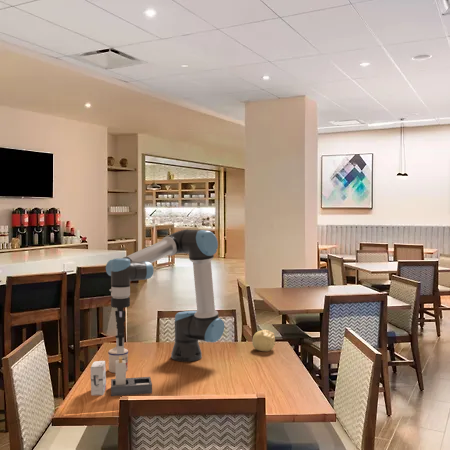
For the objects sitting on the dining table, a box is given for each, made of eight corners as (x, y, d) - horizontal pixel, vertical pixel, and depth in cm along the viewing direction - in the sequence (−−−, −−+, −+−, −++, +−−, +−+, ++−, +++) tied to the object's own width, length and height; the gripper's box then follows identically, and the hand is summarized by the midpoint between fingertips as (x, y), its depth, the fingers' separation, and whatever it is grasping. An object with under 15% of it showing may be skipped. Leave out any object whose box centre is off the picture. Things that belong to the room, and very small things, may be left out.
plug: (125, 389, 216) (125, 356, 215) (125, 392, 212) (125, 358, 211) (115, 389, 215) (115, 356, 214) (115, 393, 211) (115, 359, 211)
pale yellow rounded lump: (272, 353, 271) (273, 333, 271) (250, 351, 275) (250, 331, 274) (276, 348, 282) (277, 328, 282) (255, 346, 286) (255, 326, 285)
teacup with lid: (123, 374, 237) (123, 348, 236) (104, 372, 239) (104, 347, 239) (134, 366, 248) (134, 341, 248) (116, 364, 251) (116, 340, 250)
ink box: (93, 389, 217) (93, 360, 217) (106, 389, 217) (106, 360, 217) (90, 396, 208) (90, 366, 208) (103, 396, 209) (103, 366, 208)
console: (150, 386, 221) (150, 376, 221) (152, 394, 211) (152, 384, 211) (111, 388, 217) (111, 378, 217) (111, 397, 208) (111, 386, 208)
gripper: (110, 292, 224) (110, 342, 224) (111, 302, 199) (110, 358, 200) (128, 292, 225) (128, 341, 226) (131, 301, 201) (130, 357, 201)
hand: (120, 349), depth 213 cm, fingers open, 13 cm apart
